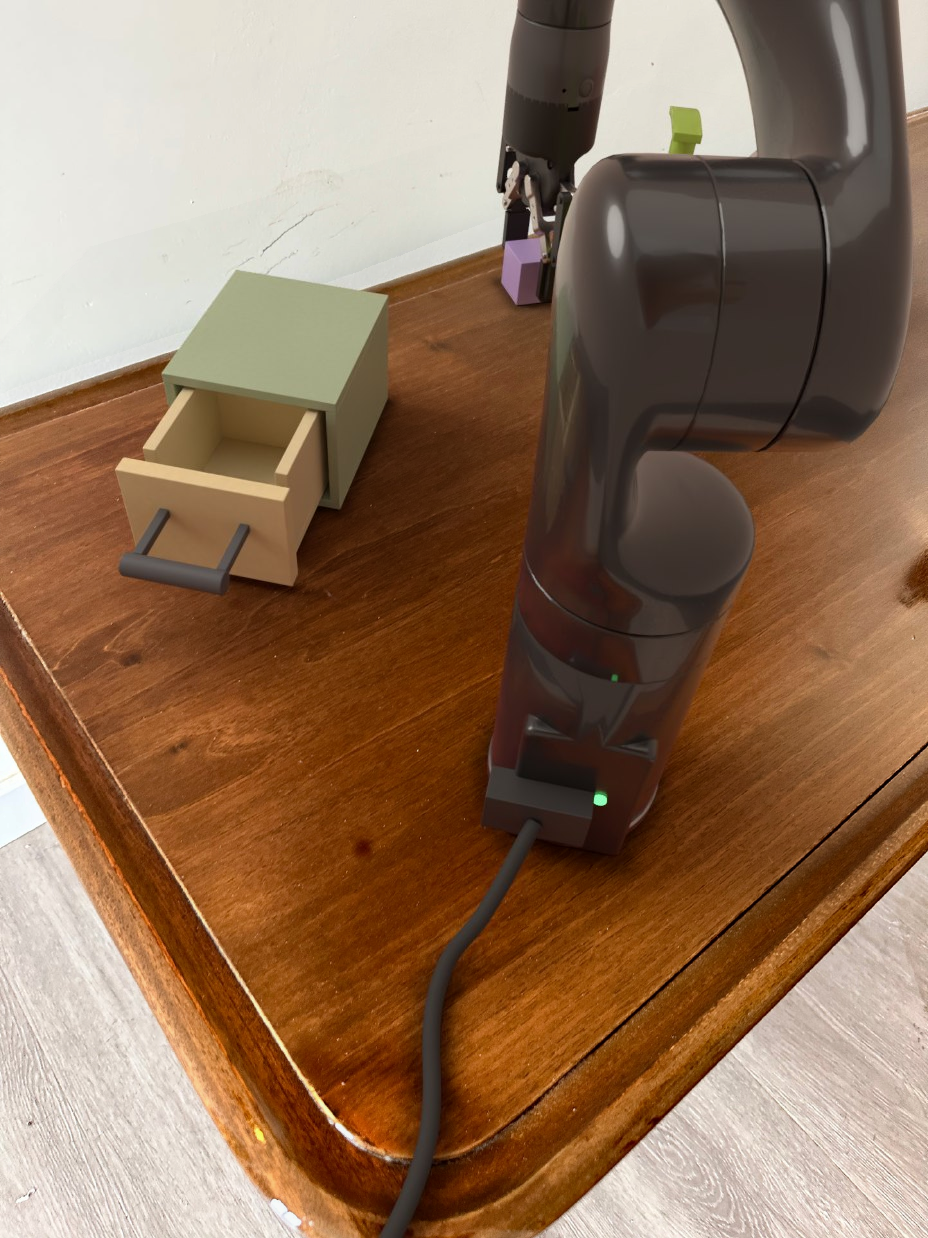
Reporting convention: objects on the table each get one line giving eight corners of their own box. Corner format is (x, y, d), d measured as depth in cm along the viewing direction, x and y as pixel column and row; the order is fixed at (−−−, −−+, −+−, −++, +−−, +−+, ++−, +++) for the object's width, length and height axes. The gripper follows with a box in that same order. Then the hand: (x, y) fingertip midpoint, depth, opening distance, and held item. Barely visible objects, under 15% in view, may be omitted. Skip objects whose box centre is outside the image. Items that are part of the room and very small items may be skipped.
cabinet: (340, 510, 66) (335, 404, 59) (183, 480, 67) (161, 373, 60) (388, 398, 74) (388, 294, 68) (248, 373, 75) (235, 269, 69)
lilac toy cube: (557, 300, 86) (563, 258, 83) (516, 305, 85) (521, 263, 82) (541, 277, 88) (546, 236, 85) (500, 282, 87) (505, 241, 84)
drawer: (264, 650, 56) (252, 565, 51) (101, 617, 57) (71, 530, 51) (347, 463, 68) (344, 378, 62) (210, 438, 68) (195, 352, 63)
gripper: (479, 47, 76) (465, 239, 89) (545, 120, 68) (519, 322, 80) (564, 43, 78) (539, 231, 91) (639, 114, 70) (600, 311, 82)
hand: (530, 274), depth 85 cm, fingers open, 8 cm apart
